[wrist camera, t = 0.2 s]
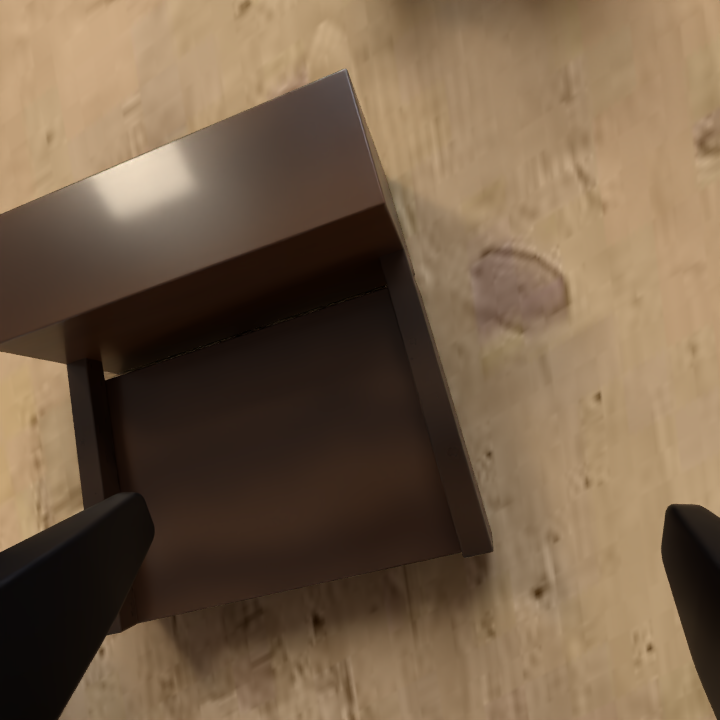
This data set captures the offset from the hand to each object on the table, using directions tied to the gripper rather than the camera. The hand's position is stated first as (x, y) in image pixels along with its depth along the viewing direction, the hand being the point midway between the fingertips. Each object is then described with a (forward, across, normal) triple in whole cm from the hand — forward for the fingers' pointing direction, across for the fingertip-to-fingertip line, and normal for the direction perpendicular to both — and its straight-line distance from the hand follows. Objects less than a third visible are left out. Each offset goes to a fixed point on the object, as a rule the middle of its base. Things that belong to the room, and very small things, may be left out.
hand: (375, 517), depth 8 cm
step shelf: (+15, +9, +5) cm, 19 cm away
